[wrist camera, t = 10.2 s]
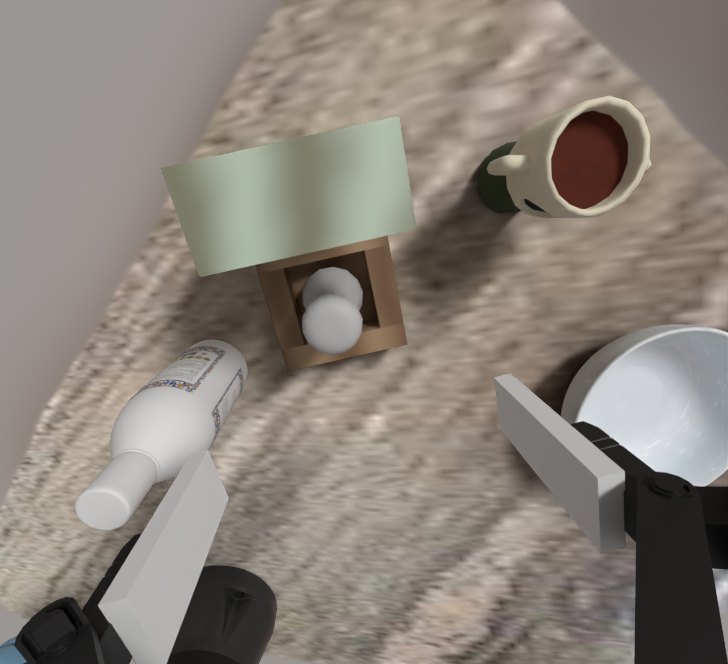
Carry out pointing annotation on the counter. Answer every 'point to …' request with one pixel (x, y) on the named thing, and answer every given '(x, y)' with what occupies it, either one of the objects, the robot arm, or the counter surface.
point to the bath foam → (164, 430)
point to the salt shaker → (332, 310)
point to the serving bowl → (660, 398)
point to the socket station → (304, 224)
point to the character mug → (570, 162)
